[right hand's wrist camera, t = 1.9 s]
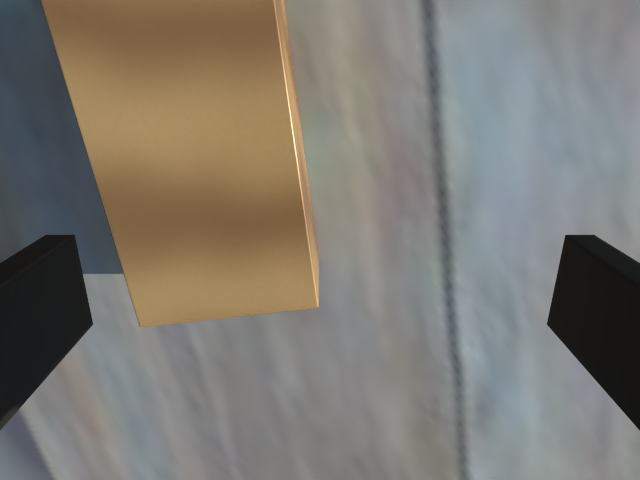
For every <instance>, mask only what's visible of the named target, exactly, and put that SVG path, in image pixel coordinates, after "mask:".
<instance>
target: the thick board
mask: <svg viewBox="0 0 640 480" xmlns="http://www.w3.org/2000/svg"><path fill="white" fill-rule="evenodd" d="M40 1H41V4H42V7H43V10H44V14H45V17H46V20H47V24H48V27H49V30H50V33H51V37H52V40H53V43H54V46H55V50H56V53H57V56H58V60H59V63H60V66H61V69H62V73H63V76H64V79H65V83H66V86H67V89H68V92H69V96H70V99H71V102H72V106H73V109H74V112H75V115H76V119H77V122H78V125H79V129H80V132H81V135H82V138H83V142H84V145H85V148H86V152H87V155H88V158H89V161H90V165H91V168H92V171H93V175H94V178H95V181H96V184H97V188H98V191H99V194H100V198H101V201H102V204H103V207H104V211H105V214H106V217H107V221H108V224H109V227H110V230H111V234H112V237H113V240H114V244H115V247H116V250H117V253H118V257H119V260H120V263H121V266H122V270H123V273H124V276H125V280H126V283H127V286H128V289H129V293H130V296H131V299H132V303H133V306H134V309H135V312H136V316H137V319H138V322H139V326H140V327H148V326H157V325H166V324H175V323H184V322H193V321H202V320H211V319H220V318H229V317H238V316H247V315H256V314H265V313H275V312H284V311H293V310H302V309H311V308H318V306H319V256H318V249H317V241H316V234H315V227H314V219H313V212H312V205H311V197H310V190H309V183H308V175H307V168H306V161H305V153H304V146H303V139H302V131H301V124H300V117H299V109H298V102H297V95H296V87H295V80H294V73H293V65H292V58H291V51H290V43H289V36H288V29H287V21H286V14H285V7H284V0H40Z"/></svg>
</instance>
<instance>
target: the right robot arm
mask: <svg viewBox="0 0 640 480" xmlns="http://www.w3.org/2000/svg"><path fill="white" fill-rule="evenodd" d="M92 325H93V322H92V317H91V312H90V307H89V303H88V298H87V293H86V288H85V283H84V278H83V274H82V269H81V264H80V259H79V254H78V249H77V245H76V240H75V235H45V236H43V237H42V238H40V239H39V240H37V241H35V242H34V243H32V244H31V245H29V246H27V247H26V248H24V249H22V250H21V251H19V252H18V253H16V254H14V255H13V256H11V257H10V258H8V259H6V260H5V261H3V262H1V263H0V430H1V429H2V428H3V426H4V425H5V424H6V423H7V422H8V421H9V420H10V419H11V417H12V416H13V415H14V414H15V413H16V412H17V411H18V409H19V408H20V407H21V406H22V405H23V404H24V403H25V401H26V400H27V399H28V398H29V397H30V396H31V395H32V393H33V392H34V391H35V390H36V389H37V388H38V387H39V386H40V384H41V383H42V382H43V381H44V380H45V379H46V378H47V376H48V375H49V374H50V373H51V372H52V371H53V370H54V368H55V367H56V366H57V365H58V364H59V363H60V362H61V360H62V359H63V358H64V357H65V356H66V355H67V354H68V352H69V351H70V350H71V349H72V348H73V347H74V346H75V344H76V343H77V342H78V341H79V340H80V339H81V338H82V336H83V335H84V334H85V333H86V332H87V331H88V330H89V328H90V327H91V326H92ZM547 325H548V326H549V327H550V328H551V330H552V331H553V332H554V333H555V334H556V335H557V336H558V338H559V339H560V340H561V341H562V342H563V343H564V344H565V346H566V347H567V348H568V349H569V350H570V351H571V352H572V354H573V355H574V356H575V357H576V358H577V359H578V360H579V362H580V363H581V364H582V365H583V366H584V367H585V368H586V370H587V371H588V372H589V373H590V374H591V375H592V376H593V378H594V379H595V380H596V381H597V382H598V383H599V384H600V386H601V387H602V388H603V389H604V390H605V391H606V392H607V393H608V395H609V396H610V397H611V398H612V399H613V400H614V401H615V403H616V404H617V405H618V406H619V407H620V408H621V409H622V411H623V412H624V413H625V414H626V415H627V416H628V417H629V419H630V420H631V421H632V422H633V423H634V424H635V425H636V427H637V428H638V429H639V430H640V263H639V262H637V261H635V260H634V259H632V258H630V257H629V256H627V255H626V254H624V253H622V252H621V251H619V250H618V249H616V248H614V247H613V246H611V245H609V244H608V243H606V242H605V241H603V240H601V239H600V238H598V237H597V236H595V235H565V240H564V245H563V249H562V254H561V259H560V264H559V269H558V274H557V278H556V283H555V288H554V293H553V298H552V303H551V307H550V312H549V317H548V322H547Z"/></svg>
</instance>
